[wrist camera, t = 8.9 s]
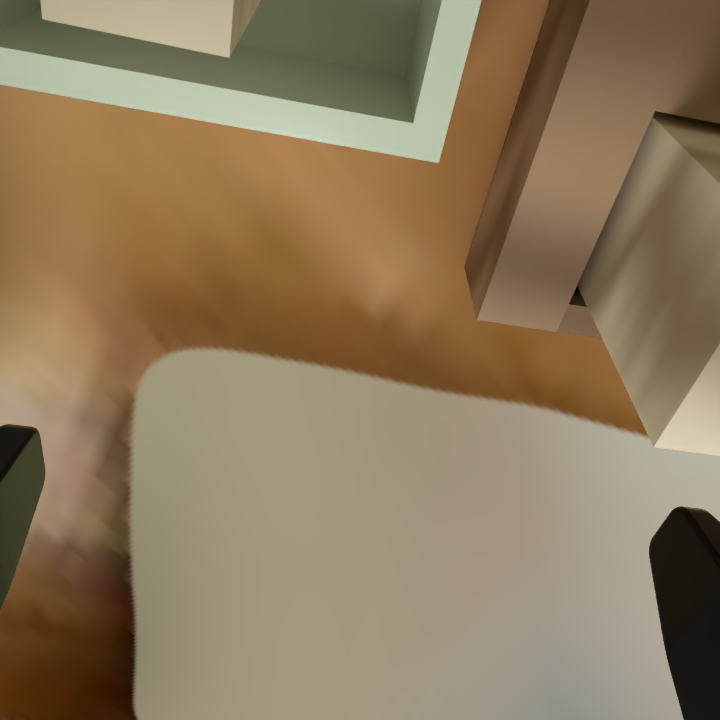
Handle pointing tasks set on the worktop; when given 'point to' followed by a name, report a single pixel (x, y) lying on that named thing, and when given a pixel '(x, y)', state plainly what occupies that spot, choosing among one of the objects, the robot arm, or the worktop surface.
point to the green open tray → (270, 70)
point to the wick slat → (665, 283)
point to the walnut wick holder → (583, 147)
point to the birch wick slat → (161, 20)
